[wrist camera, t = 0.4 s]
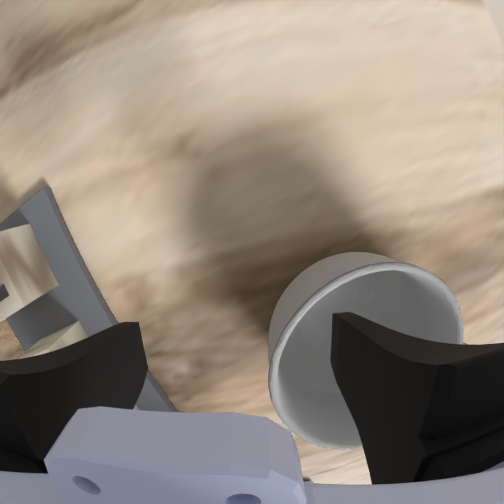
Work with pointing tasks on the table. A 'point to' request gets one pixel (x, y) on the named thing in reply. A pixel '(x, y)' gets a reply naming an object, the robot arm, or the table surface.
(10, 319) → the mat
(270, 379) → the teacup
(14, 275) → the marked block two
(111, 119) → the table surface
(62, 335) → the plain block
